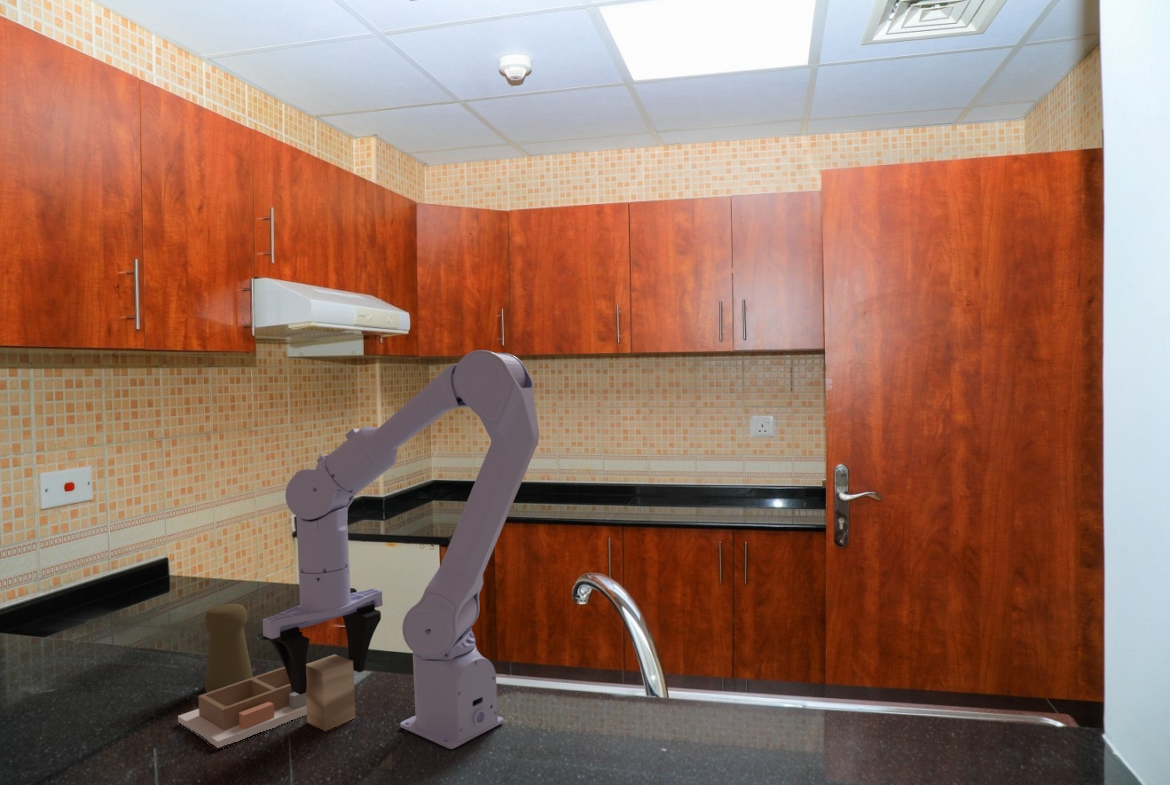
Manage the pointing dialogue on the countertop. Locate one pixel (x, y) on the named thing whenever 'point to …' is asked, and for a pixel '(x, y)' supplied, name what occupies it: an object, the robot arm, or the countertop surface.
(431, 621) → the robot arm
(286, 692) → the socket board
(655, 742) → the countertop surface
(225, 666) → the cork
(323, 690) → the maple peg
